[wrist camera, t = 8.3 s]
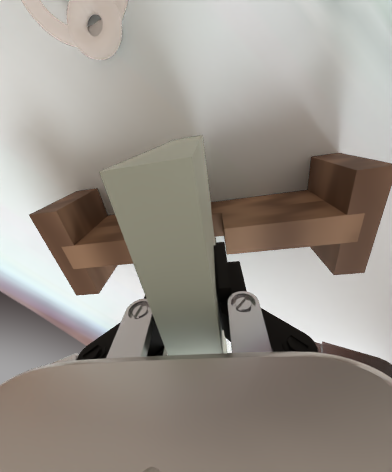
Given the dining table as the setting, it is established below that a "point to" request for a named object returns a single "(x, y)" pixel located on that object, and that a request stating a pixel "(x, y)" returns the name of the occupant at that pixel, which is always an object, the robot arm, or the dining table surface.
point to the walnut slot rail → (238, 222)
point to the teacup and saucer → (84, 25)
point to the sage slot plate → (171, 241)
